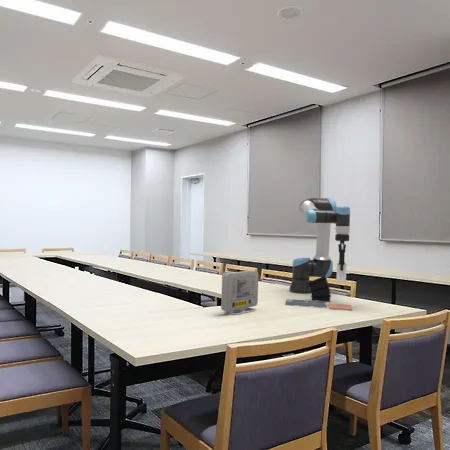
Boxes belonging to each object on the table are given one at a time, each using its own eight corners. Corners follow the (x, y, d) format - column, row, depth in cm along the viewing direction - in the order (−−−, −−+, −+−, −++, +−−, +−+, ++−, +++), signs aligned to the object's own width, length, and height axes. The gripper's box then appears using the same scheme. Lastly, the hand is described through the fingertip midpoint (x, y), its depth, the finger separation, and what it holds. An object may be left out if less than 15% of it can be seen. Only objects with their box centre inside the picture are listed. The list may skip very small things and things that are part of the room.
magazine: (334, 299, 254) (324, 276, 257) (314, 307, 259) (304, 283, 262) (335, 298, 258) (325, 275, 260) (315, 306, 263) (306, 283, 265)
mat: (329, 304, 246) (329, 303, 246) (351, 306, 243) (351, 304, 243) (329, 308, 232) (329, 307, 232) (352, 310, 230) (352, 309, 230)
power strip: (286, 302, 249) (286, 298, 249) (325, 305, 243) (325, 301, 243) (285, 304, 241) (285, 300, 241) (325, 307, 236) (325, 303, 236)
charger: (336, 281, 240) (336, 263, 240) (345, 281, 239) (346, 263, 239) (336, 281, 236) (337, 263, 236) (345, 282, 235) (346, 264, 235)
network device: (248, 307, 230) (249, 270, 230) (261, 309, 224) (262, 271, 225) (217, 313, 210) (218, 273, 210) (231, 316, 205) (232, 274, 205)
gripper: (335, 233, 247) (334, 274, 247) (335, 233, 231) (334, 277, 230) (348, 234, 245) (347, 274, 245) (350, 234, 229) (349, 278, 229)
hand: (341, 275), depth 238 cm, fingers closed on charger, 4 cm apart
